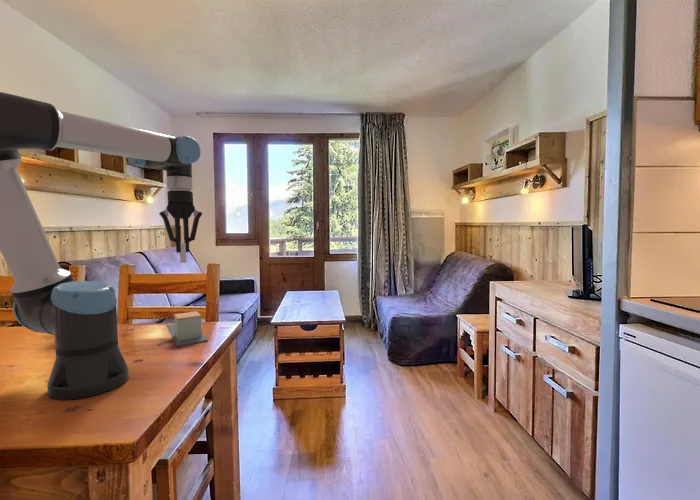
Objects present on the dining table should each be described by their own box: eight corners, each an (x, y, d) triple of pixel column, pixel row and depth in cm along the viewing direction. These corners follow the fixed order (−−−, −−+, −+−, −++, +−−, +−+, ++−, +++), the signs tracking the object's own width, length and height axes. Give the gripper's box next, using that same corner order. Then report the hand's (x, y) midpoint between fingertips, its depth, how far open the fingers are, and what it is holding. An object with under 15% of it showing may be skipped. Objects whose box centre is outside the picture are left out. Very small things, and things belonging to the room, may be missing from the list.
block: (196, 311, 123) (197, 331, 124) (174, 314, 120) (175, 335, 120) (201, 315, 118) (201, 336, 118) (177, 318, 114) (178, 340, 114)
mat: (208, 341, 115) (208, 339, 115) (176, 346, 110) (176, 345, 110) (192, 322, 138) (192, 320, 138) (165, 325, 133) (165, 324, 133)
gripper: (199, 192, 126) (201, 260, 128) (156, 190, 119) (160, 262, 120) (203, 190, 120) (206, 261, 121) (159, 188, 113) (162, 264, 114)
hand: (183, 262), depth 121 cm, fingers closed
